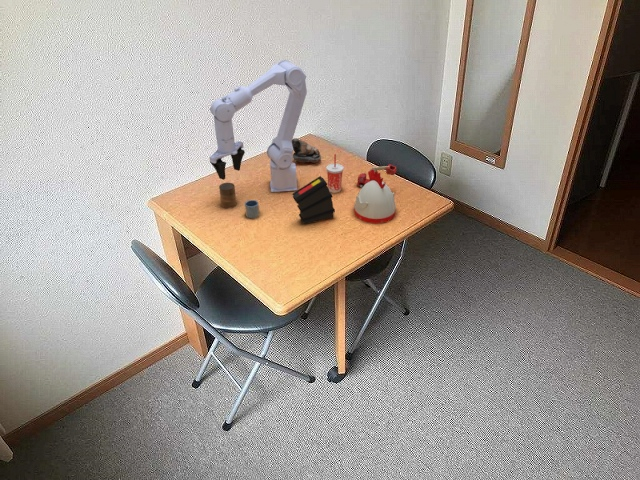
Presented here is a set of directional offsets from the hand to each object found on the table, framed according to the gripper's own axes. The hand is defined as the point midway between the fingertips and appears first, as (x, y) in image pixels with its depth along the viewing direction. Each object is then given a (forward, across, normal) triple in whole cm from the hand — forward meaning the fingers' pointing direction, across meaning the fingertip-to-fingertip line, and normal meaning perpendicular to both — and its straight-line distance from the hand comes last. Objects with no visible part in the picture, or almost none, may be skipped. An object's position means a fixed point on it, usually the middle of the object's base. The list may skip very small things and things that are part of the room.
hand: (229, 174), depth 167 cm
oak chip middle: (+7, -4, -2) cm, 8 cm away
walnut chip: (+5, -4, -2) cm, 6 cm away
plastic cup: (+10, -5, -13) cm, 17 cm away
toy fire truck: (+10, +34, -39) cm, 53 cm away
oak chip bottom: (+10, -4, -2) cm, 10 cm away
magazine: (+10, +4, -32) cm, 34 cm away
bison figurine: (-18, +58, -24) cm, 65 cm away
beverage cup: (+10, +25, -27) cm, 38 cm away
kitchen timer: (+10, +19, -46) cm, 51 cm away
